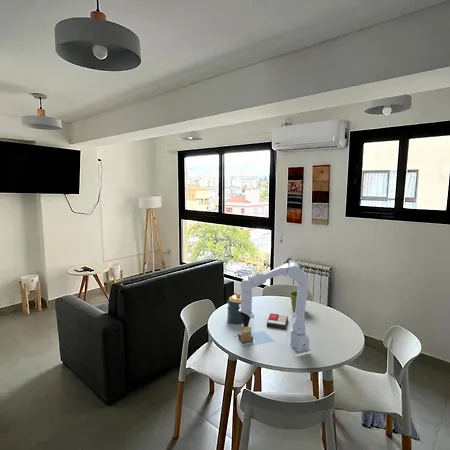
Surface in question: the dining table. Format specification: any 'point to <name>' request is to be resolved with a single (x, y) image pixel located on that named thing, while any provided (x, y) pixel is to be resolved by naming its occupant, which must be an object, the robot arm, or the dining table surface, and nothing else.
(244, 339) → the walnut base
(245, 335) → the maple block
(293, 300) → the plant pot
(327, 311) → the dining table surface
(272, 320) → the multicoloured piece
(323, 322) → the dining table surface
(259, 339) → the board
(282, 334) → the dining table surface
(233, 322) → the canister
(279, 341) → the dining table surface
